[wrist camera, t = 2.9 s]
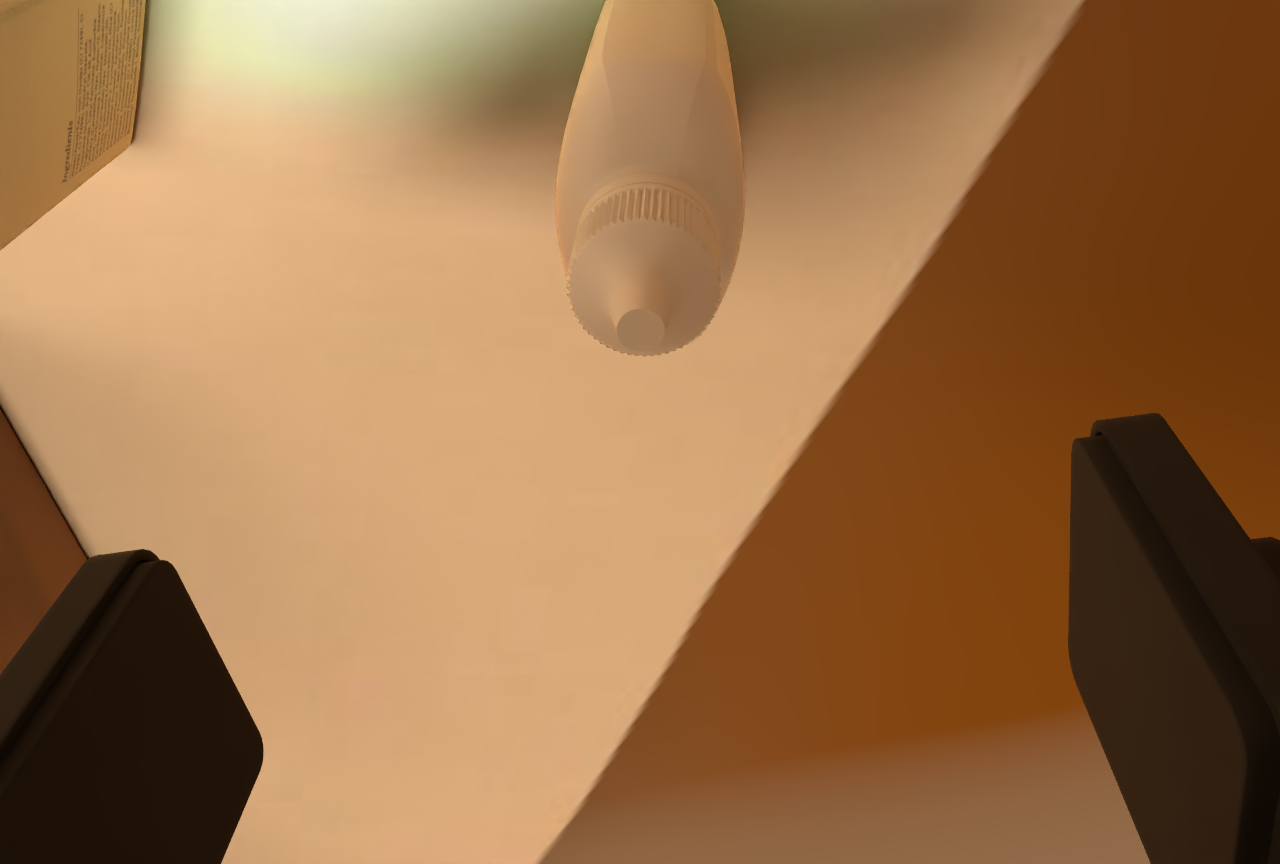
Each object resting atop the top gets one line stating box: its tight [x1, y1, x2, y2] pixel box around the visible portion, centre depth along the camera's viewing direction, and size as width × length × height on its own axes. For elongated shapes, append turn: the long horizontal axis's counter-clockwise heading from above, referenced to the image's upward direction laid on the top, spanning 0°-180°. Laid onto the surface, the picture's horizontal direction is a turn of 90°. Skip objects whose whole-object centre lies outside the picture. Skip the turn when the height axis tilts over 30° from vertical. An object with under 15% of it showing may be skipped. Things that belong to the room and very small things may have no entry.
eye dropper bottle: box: [556, 0, 745, 356], centre depth 21 cm, size 4×6×12 cm
